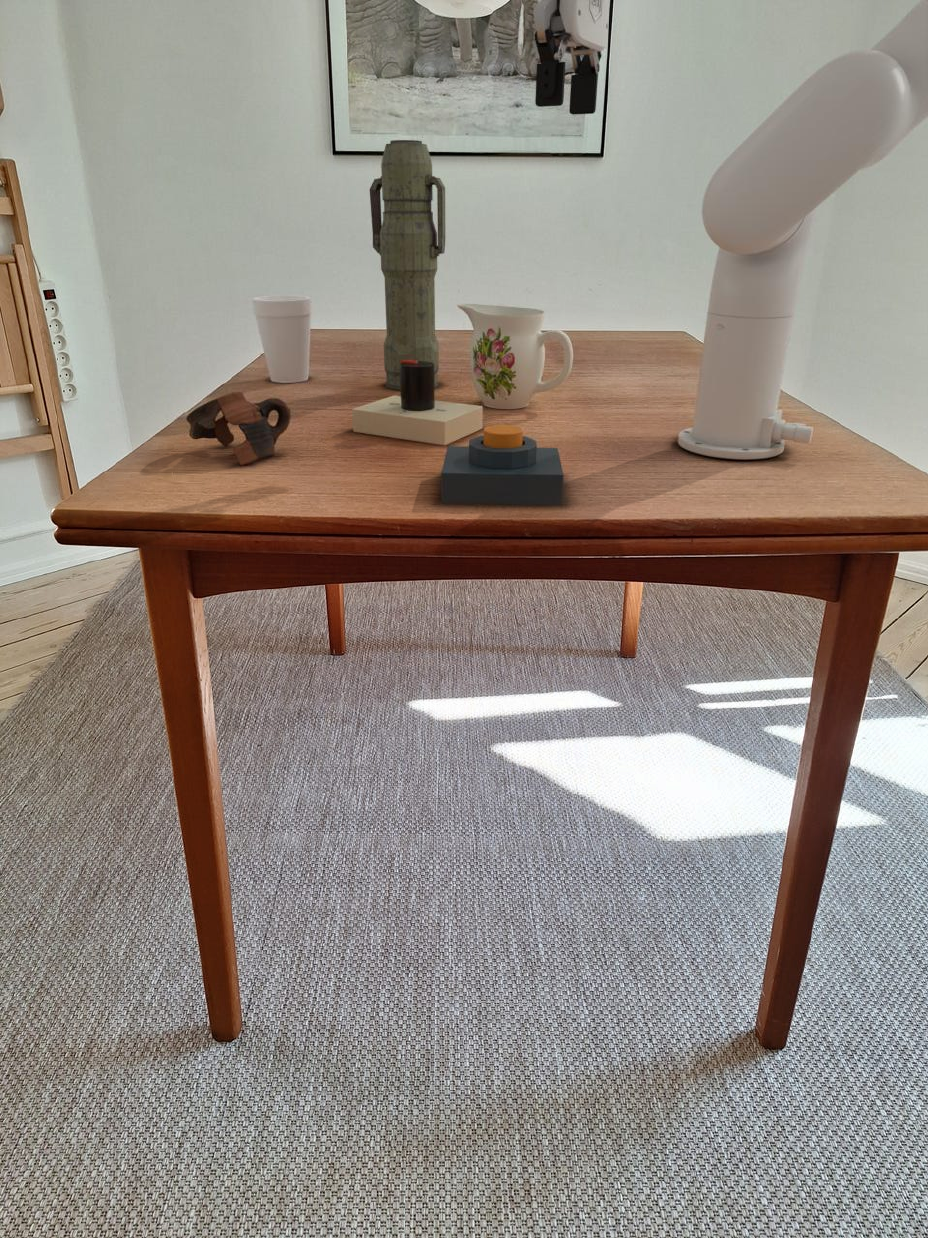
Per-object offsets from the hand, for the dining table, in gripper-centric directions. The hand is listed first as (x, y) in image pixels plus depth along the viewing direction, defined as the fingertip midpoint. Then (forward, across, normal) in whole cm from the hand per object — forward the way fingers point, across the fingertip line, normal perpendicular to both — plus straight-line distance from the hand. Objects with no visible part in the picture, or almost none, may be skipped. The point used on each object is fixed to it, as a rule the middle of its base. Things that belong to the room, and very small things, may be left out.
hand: (566, 109), depth 94 cm
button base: (+36, -29, -7) cm, 47 cm away
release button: (+32, -29, -7) cm, 44 cm away
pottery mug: (+37, -32, +26) cm, 55 cm away
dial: (+34, -12, +14) cm, 38 cm away
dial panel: (+37, -12, +14) cm, 41 cm away
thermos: (+37, +13, +31) cm, 50 cm away
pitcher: (+37, +8, +10) cm, 39 cm away
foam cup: (+37, +7, +52) cm, 64 cm away
